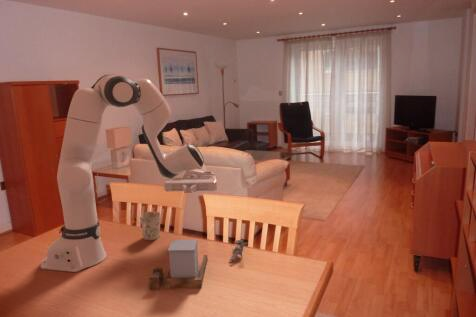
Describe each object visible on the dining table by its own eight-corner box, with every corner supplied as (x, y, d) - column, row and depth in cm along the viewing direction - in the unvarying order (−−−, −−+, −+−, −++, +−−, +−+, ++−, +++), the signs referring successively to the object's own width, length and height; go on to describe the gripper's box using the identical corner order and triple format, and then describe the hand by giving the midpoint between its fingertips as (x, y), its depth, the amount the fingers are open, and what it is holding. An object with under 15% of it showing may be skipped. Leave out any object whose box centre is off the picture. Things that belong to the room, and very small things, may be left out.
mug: (164, 233, 154) (162, 211, 152) (155, 246, 142) (153, 223, 140) (145, 232, 155) (144, 211, 153) (135, 246, 143) (132, 222, 141)
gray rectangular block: (170, 285, 114) (167, 250, 112) (175, 273, 122) (172, 239, 119) (196, 285, 114) (194, 249, 111) (199, 272, 121) (197, 239, 119)
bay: (149, 289, 113) (148, 277, 112) (163, 260, 131) (162, 249, 130) (201, 289, 112) (200, 276, 111) (207, 259, 130) (206, 248, 129)
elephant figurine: (219, 259, 131) (230, 241, 138) (231, 269, 132) (241, 252, 138) (233, 250, 124) (244, 232, 131) (245, 261, 125) (256, 243, 131)
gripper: (167, 173, 143) (159, 182, 129) (218, 172, 142) (215, 182, 129) (168, 188, 144) (160, 199, 131) (218, 187, 143) (215, 198, 130)
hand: (187, 190), depth 130 cm, fingers closed
